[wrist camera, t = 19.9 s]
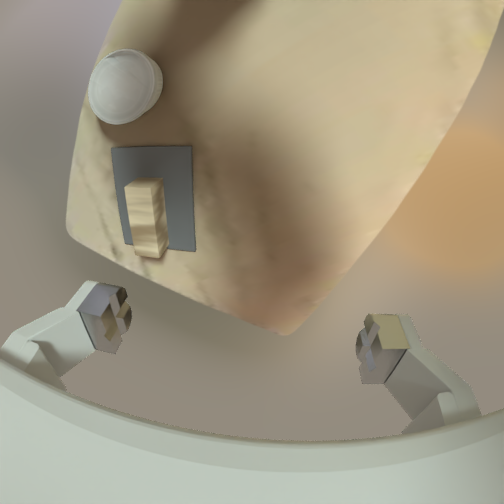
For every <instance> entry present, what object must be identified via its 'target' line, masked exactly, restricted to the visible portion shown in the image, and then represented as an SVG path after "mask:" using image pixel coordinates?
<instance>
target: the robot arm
mask: <svg viewBox="0 0 504 504" xmlns="http://www.w3.org/2000/svg"><path fill="white" fill-rule="evenodd" d="M127 297H128V296H127V292H126V289H125V288H123V287H120V286H115V285H110V284H106V283H100V282H95V281H90V280H89V281H86V282H85V283H84V284H83V285H82V286H81V288H80V289H79V290H78V291H77V293H76V294H75V295H74V296H73V298H72V299H71V300H70V301H69V303H68V304H67V305H66V306H65V308H62V307H61V308H59V309H57V310H55V311H53V312H51V313H49V314H47V315H45V316H43V317H41V318H39V319H37V320H35V321H33V322H31V323H29V324H27V325H25V326H23V327H22V328H19V329H18V330H16V331H14V332H13V333H12V334H11V335H10V337H9V338H8V339H7V341H6V342H5V344H4V345H3V346H2V348H1V349H0V504H504V408H503V409H500V410H498V411H495V412H492V413H489V414H486V415H483V416H482V415H481V412H480V409H479V406H478V403H477V400H476V398H475V395H474V392H473V390H472V387H471V386H470V385H469V384H468V383H467V382H465V381H464V380H463V379H462V378H461V377H460V376H459V375H458V374H456V373H455V372H454V371H453V370H452V369H451V368H449V367H448V366H447V365H446V364H445V363H444V362H443V361H441V360H440V359H439V358H438V357H437V356H435V355H434V354H433V353H432V352H431V351H430V350H428V349H424V348H423V345H422V343H421V340H420V338H419V335H418V333H417V331H416V328H415V326H414V324H413V322H412V319H411V317H410V316H409V315H408V314H395V315H393V314H368V315H367V316H366V318H365V321H364V325H365V328H364V329H362V330H361V331H360V332H359V334H358V337H357V342H356V355H357V358H358V359H359V360H360V361H361V362H362V364H361V365H360V367H359V370H360V376H361V381H362V384H384V385H385V386H386V388H387V389H388V390H389V391H390V393H391V394H392V395H393V396H394V398H395V399H396V400H397V401H398V403H399V404H400V405H401V407H402V408H403V409H404V410H405V412H406V413H407V414H408V415H409V417H410V418H411V419H412V422H411V423H410V424H409V425H408V426H407V427H406V428H405V429H404V430H403V431H402V434H399V435H392V436H385V437H376V438H366V439H352V440H331V441H294V440H271V439H258V438H248V437H238V436H230V435H223V434H215V433H209V432H204V431H198V430H192V429H187V428H182V427H177V426H173V425H168V424H164V423H160V422H156V421H152V420H148V419H144V418H140V417H137V416H134V415H130V414H127V413H124V412H120V411H117V410H114V409H111V408H108V407H105V406H102V405H99V404H97V403H94V402H91V401H88V400H86V399H83V398H81V397H78V396H76V395H73V394H71V393H68V392H66V391H67V389H66V386H65V385H64V383H63V382H62V380H61V379H60V377H61V376H62V375H64V374H65V373H66V372H68V371H69V370H70V369H72V368H73V367H74V366H76V365H77V364H78V363H80V362H81V361H82V360H83V359H85V358H86V357H87V356H89V355H90V354H91V353H93V352H94V351H95V349H96V350H100V351H104V352H108V353H112V354H116V352H117V350H118V348H119V346H120V344H121V342H122V337H121V335H122V334H124V333H125V332H127V331H128V329H129V327H130V324H131V319H132V311H131V307H130V306H129V304H128V303H127V302H126V301H125V300H126V298H127Z"/></svg>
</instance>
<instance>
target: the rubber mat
mask: <svg viewBox="0 0 504 504" xmlns="http://www.w3.org/2000/svg"><path fill="white" fill-rule="evenodd" d="M111 153H112V163H113V171H114V180H115V187H116V194H117V201H118V207H119V213H120V219H121V225H122V230H123V236H124V241H125V244H133V239H132V234H131V228H130V222H129V216H128V210H127V203H126V196H125V189H124V187H125V186H127V185H128V184H129V183H131V182H132V181H134V180H135V179H136V178H138V177H149V178H163V186H164V198H165V209H166V219H167V229H168V237H169V245H168V247H167V249H176V250H185V251H194V252H195V251H196V240H195V223H194V202H193V172H192V146H141V147H118V148H111Z"/></svg>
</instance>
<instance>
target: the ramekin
mask: <svg viewBox="0 0 504 504" xmlns="http://www.w3.org/2000/svg"><path fill="white" fill-rule="evenodd" d="M162 87H163V76H162V72H161V69H160V68H159V66H158V65H157V63H156V62H155V61H154V60H152V59H151V58H149V57H148V56H147V55H146V54H145V53H143V52H141V51H139V50H136V49H120V50H116V51H114V52H112V53H110V54H108V55H107V56H105V57H104V58H103V59H102V60H101V61H100V62H99V63H98V65H97V66H96V67H95V69H94V71H93V73H92V75H91V78H90V81H89V86H88V98H89V103H90V106H91V108H92V110H93V112H94V113H95V115H96V116H97V117H98V118H99V119H101V120H102V121H104V122H106V123H108V124H113V125H120V124H125V123H129V122H131V121H134V120H135V119H137V118H139V117H140V116H141V115H142V114H143V113H145V112H146V111H148V110H149V109H150V108H152V107H153V105H154V104H155V103H156V102H157V100H158V98H159V97H160V94H161V91H162Z"/></svg>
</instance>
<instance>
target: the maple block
mask: <svg viewBox="0 0 504 504" xmlns="http://www.w3.org/2000/svg"><path fill="white" fill-rule="evenodd" d="M124 189H125V196H126V203H127V210H128V216H129V222H130V228H131V234H132V239H133V245H134V250H135V255H137V256H145V257H153V258H160V257H161V255H162V254H163V252H164V251H165V250H166V248H167V247H168V245H169V237H168V229H167V219H166V209H165V198H164V186H163V178H149V177H138V178H136V179H135V180H134V181H132V182H131V183H129V184H128V185H127V186H125V187H124Z"/></svg>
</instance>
